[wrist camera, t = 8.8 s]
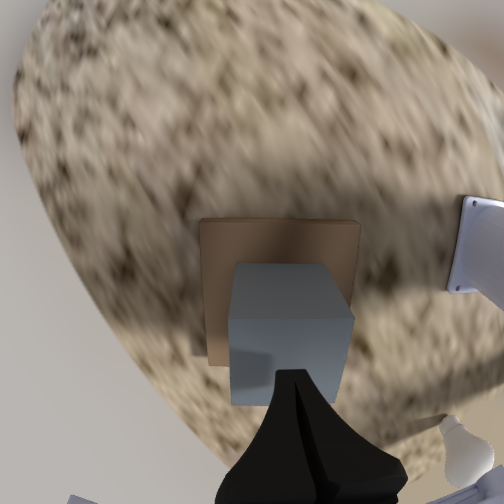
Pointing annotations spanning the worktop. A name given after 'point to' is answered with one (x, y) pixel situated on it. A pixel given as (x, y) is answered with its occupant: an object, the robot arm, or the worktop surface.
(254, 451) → the robot arm
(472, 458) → the lightbulb
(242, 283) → the blue-grey block
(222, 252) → the brown base with post
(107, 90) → the worktop surface
